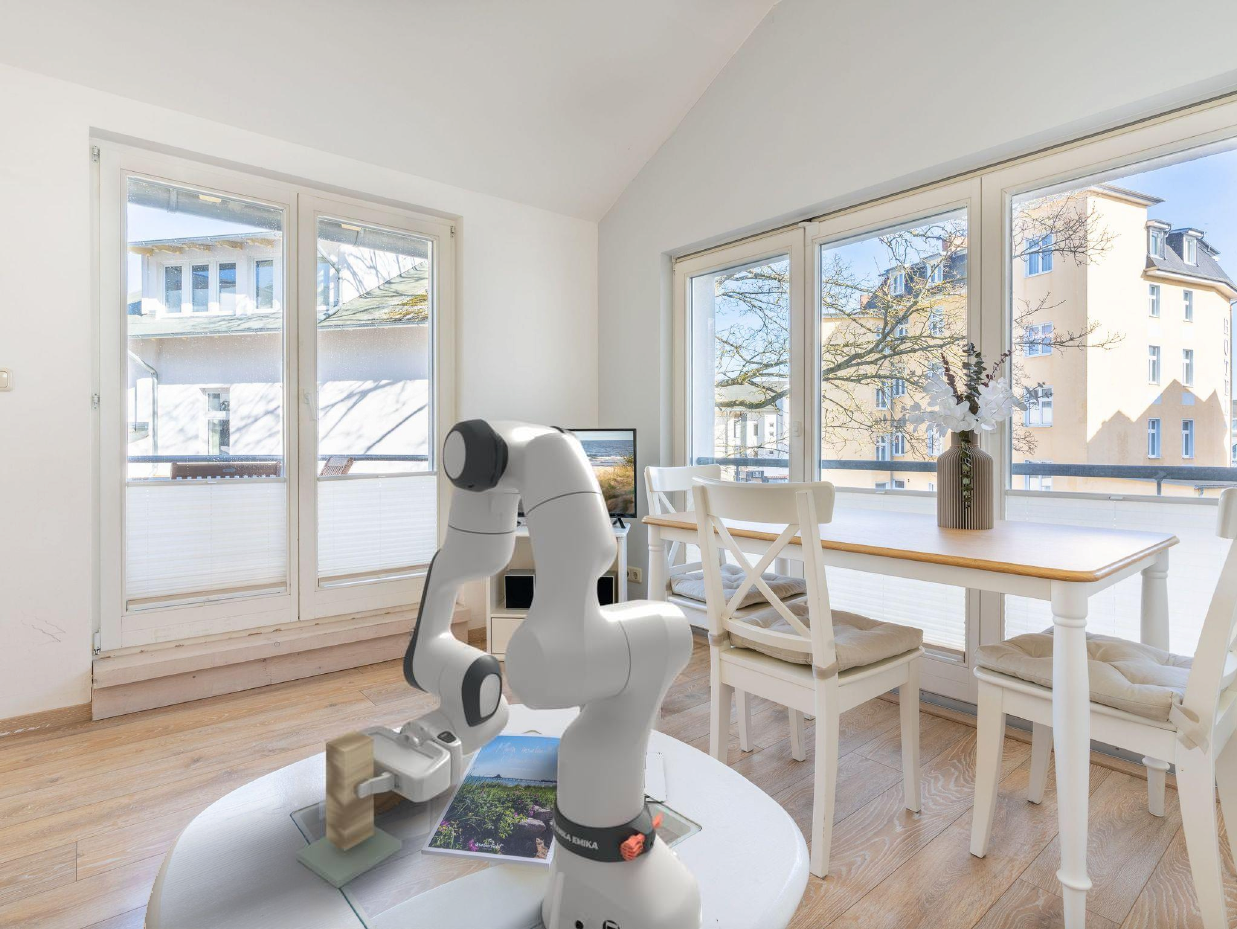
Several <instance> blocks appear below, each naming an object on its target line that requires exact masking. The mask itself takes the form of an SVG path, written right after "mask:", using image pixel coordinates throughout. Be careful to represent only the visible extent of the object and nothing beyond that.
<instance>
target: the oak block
mask: <svg viewBox="0 0 1237 929" xmlns="http://www.w3.org/2000/svg"><path fill="white" fill-rule="evenodd" d="M358 731H359V730H352V731H349V732H347V733H345V734H342V735H340V736H338V737H335V738H333V739H330V740H328V741H325V818H326V819H325V836H326V839H327V840H329V841H330V842H332V843H333V844H335V845H336V846H338V847H339V848H341V849H342V850H344V851H346V850H347V849H349V848H351V847H353V846H354V845H356V844H358V843H359V842H361V841H363V840H365V839H366V838H368V837H370V836H371V835H373V834H374V826H375V825H374V823H375V822H374V821H375V819H374V818H375V814H374V794H370V795H368V796H366V797H364V798H360V797H358V796H356V795H355V794H354V785H355V783H357V782H358V781H361V780H363V779H365V778H366V779H368V780H369V779H373V778H374V739H372V738H370V737H368V736H366V735H364V734H362V733H360V732H358Z"/></svg>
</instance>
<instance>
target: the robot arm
mask: <svg viewBox="0 0 1237 929" xmlns="http://www.w3.org/2000/svg"><path fill="white" fill-rule="evenodd" d="M442 449H443V450H442V465H443V469H444V472H445V475H446V477H447V478H448V480H449V481H450V483H451V484H452V485H453V486H454V487H453V492H452V495H451V496H452V497H451V500H450V506H449V510H448V512H449V514H448V520H447V529H446V534H445V538H444V541H443V544H442V546H441V548H439V549H438V550H437V551H436V552H435V553H434V555H433V557H432V559H431V561H430V564H429V565H428V568H427V572H426V577H425V580H424V581H425V582H424V584H423V585H424V586H423V589H422V593H421V594H422V595H421V599H420V604H419V608H418V611H417V617H416V622H415V627H414V629H413V633H412V636H411V639H410V641H409V643H408V645H407V649H406V650H405V653H404V656H403V662H402V672H403V676H404V679H405V681H406V683H408V685H409V686H411V687H412V688H414V689H417V690H419V691H421V692H423V693H428V694H430V695H432V696H434V697H436V698H438V699H439V700H440V704H439V706H438V708H437V709H435V710H431V711H429V712H427V713H425V714H422V715H421V716H418V717H415V718H414V719H411V720H409V721H407V722H405V723H404V724H402V726H401V728H400V729H399V732H397V731H395V730H393V729H391V728H387V727H385V726H382V725H374V726H370V727H367V728H363V729H359V730H357V731H358V732H360V733H362V734H364V735H366V736H368V737H370V738H372V739H374V778H373V779H369V780H368V779H366V778H365V779H363V780H361V781H358V782H357V783H355V785H354V794H355V795H356V796H358V797H360V798H364V797H366V796H368V795H370V794H375V793H381V792H387V791H389V790H392V791H394V792H396V793H398V794H400V795H402V796H404V797H406V798H407V799H408V800H410V801H412V802H413V803H421V802H427V801H428V800H431V799H432V798H435V797H436V796H438V795H439V794H441V793H443V792H444V791H446V790H447V789H448V788H449V787H452V786H455V785H457V784H459V783H461V782H462V781H461V780H462V774H463V773H462V772H463V757H464V756H468V755H470V754H472V753H474V752H476V751H478V750H480V749H482V748H483V747H485V746H487V744H489V743H490V742H492V741H493V740H494V739H496V738H497V736H499V735H500V734H501V733H502V731H504V730H505V728H506V726H507V725H508V722H509V718H510V707H509V702H508V700H507V698H506V697H505V695H504V694H503V671H502V667H501V664H500V661H499V659H497V657H496V656H494V655H491V654H490V653H488V652H485V651H484V650H481V649H479V648H478V647H474V646H471V645H469V644H467V643H465V642H463V641H461V640H458V639H456V637H455V635H453V633H452V630H451V625H452V620H453V617H454V612H455V607H456V604H457V599H458V595H459V591H460V589H461V588H462V586H463V585H464V584H465V583H466V582H474V581H479V580H480V581H481V580H483V579H487V578H490V577H491V578H492V577H493V576H495V575H496V574H499V573H500V572H502V570H504V569H505V568H506V566H507V565H508V564H509V563H510V561H511V560H512V557H513V554H514V550H515V546H516V536H517V526H518V513H519V511H518V510H519V509H518V508H519V502H520V500H521V505H522V510H523V515H524V518H525V522H526V527H527V531H528V535H529V536H528V537H529V540H530V546H531V551H532V556H533V562H534V566H535V567H534V569H535V586H534V594H533V598H532V601H531V605H530V607H529V610H528V611H527V613H526V615H525V618H524V619H523V620H522V621H521V623H520V625H519V626H518V627H517V628H516V629H515V630H514V631H513V634H512V635H511V637H510V639H509V641H508V643H507V646H506V649H505V653H504V662H503V664H504V665H503V666H504V668H503V669H504V674H505V678H506V682H507V684H508V687H509V689H510V691H511V692H512V694H513V695H514V697H515V698H516V699H517V701H519V702H520V703H521V704H522V705H523V706H524V707H526V708H528V709H529V710H533V711H534V710H535V711H537V710H539V711H540V710H566V709H567V710H568V709H571V708H575V707H580V705H583V704H586V703H587V704H586V706H585V707H584V709H583V710H582V712H581V713H580V712H579V714H578V715H577V716H576V717H575V718H574V719H573V720H572V721H571V722H570V723H569V725H568V726H567V727H566V729H565V730H564V732H563V733H562V735H561V737H560V739H559V743H558V747H557V748H558V749H557V775H556V776H557V781H556V782H557V783H556V784H557V785H556V796H555V797H554V801H553V808H552V809H553V810H552V835H553V836H554V847H553V848H554V850H553V857H552V863H551V870H550V876H549V879H548V880H549V881H548V884H547V889H546V892H545V895H544V897H543V902H542V905H541V918H542V922H543V925H544V927H545V929H701V925H702V908H701V905H702V902H701V901H702V900H701V894H700V893H701V892H700V889H699V885H698V882H697V879H696V877H695V876H694V875H693V874H692V872H691V871H690V870H689V869H688V868H687V866H686V865H684V864H683V862H682V861H681V860H680V857H679V856H678V854H677V853H676V852H675V851H673V850H671V848H669V847H668V845H667V844H666V843H665V841H664V840H663V839H661V837H660V836H659V835H658V834H657V829H658V827H660V826H661V824H662V823H663V819H662V818H663V813H662V812H661V813H659V814H658V815H657V816H656V817H655V818H654V819H653V815H652V813H651V810H650V807H649V803H648V802H647V801H646V798H645V796H644V788H645V769H646V755H647V752H648V746H649V740H650V737H651V732H652V729H653V727H654V726H653V725H654V723H655V720H656V717H657V715H658V712H659V710H660V708H661V705H662V703H663V701H664V699H665V696H666V694H667V692H668V691H669V689H670V687H671V686H672V684H673V683H674V681H675V679H676V678H677V677H678V676H679V675H680V674H681V673H682V671H684V670H685V669H686V667H687V666H688V665H689V663H690V660H691V658H692V655H693V650H694V649H693V648H694V639H693V637H694V636H693V632H692V627H691V626H690V623H689V621H688V618H687V617H686V615H685V614H684V613H683V611H682V610H681V609H680V608H679V607H678V606H677V605H675V604H674V603H671V602H670V601H662V600H655V599H654V600H653V599H634V600H633V599H632V600H627V601H622V602H617V603H610V604H605V605H600V604H601V603H600V602H599V597H598V580H599V579H600V578H601V577H602V576H603V575H605V574H606V572H608V570H610V568H611V567H612V565H613V564H614V563H615V561H616V557H617V555H618V552H619V551H618V550H619V547H618V546H619V545H618V540H617V537H616V534H615V530H614V528H613V527H614V526H613V523H612V520H611V518H610V513H609V510H608V507H607V504H606V500H605V497H604V495H603V492H602V488H601V485H600V482H599V480H598V477H597V474H596V472H595V470H594V468H593V465H592V463H591V460H590V459H589V458H588V457H589V456H588V455H587V453H586V452H585V450H584V446H583V445H582V442H581V439H580V438H579V437H578V436H577V435H576V434H575V432H573V431H570V429H569V430H568V429H566V428H563V427H560V426H555V425H551V426H547V425H542V424H538V423H532V422H531V423H530V422H523V421H521V420H511V419H510V420H509V419H506V420H505V419H499V420H483V419H481V418H476V419H468V420H463V421H459V422H457V423H456V424H455V425H453V426H452V428H451V429H450V431H449V432H448V433H447V435H446V437H445V439H444V443H443V448H442ZM407 799H406V800H407Z"/></svg>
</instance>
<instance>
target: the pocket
mask: <svg viewBox="0 0 1237 929" xmlns="http://www.w3.org/2000/svg"><path fill="white" fill-rule="evenodd" d="M406 800H407V798H406V797H404V796H402V795H400V794H398V793H396V792H394V791H392V790H389V791H387V792H381V793H375V794H374V816H378V815H380V814H382V813H384V812H385V811H387V810H390V809H391V808H393V807H394V806H396V805H398V804H401V803H402V802H403V801H406Z"/></svg>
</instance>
